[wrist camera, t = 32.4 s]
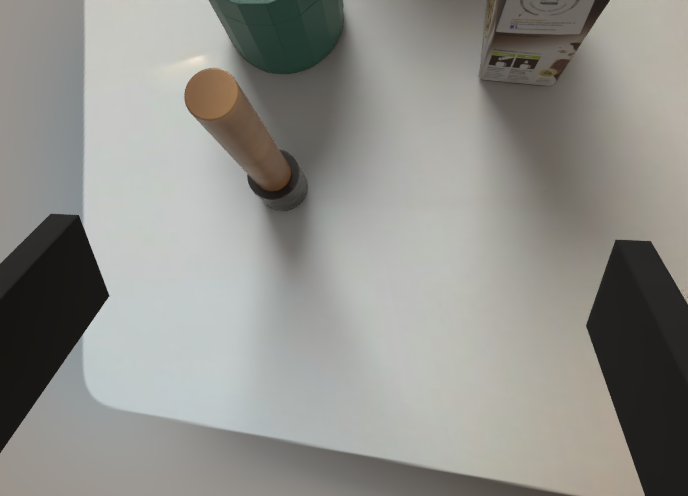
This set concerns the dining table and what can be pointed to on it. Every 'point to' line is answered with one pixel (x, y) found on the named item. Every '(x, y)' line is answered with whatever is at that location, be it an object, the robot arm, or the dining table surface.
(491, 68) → the coffee box
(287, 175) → the brush
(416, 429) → the dining table surface
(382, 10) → the dining table surface
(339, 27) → the jar
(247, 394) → the dining table surface
